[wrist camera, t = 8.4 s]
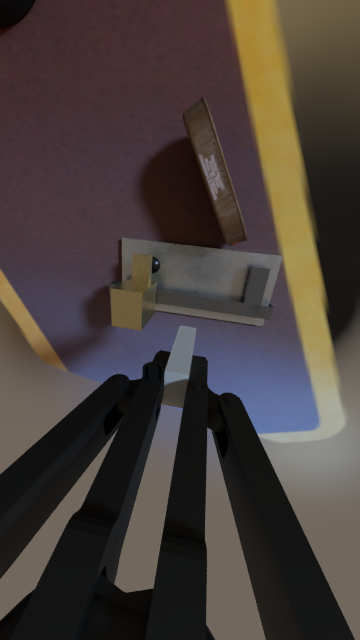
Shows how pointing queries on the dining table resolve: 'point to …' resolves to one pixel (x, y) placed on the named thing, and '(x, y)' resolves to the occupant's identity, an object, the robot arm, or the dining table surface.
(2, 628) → the robot arm
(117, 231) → the dining table surface
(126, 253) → the bolt plate
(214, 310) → the grey slide rail base
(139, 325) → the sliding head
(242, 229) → the tin
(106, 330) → the dining table surface
